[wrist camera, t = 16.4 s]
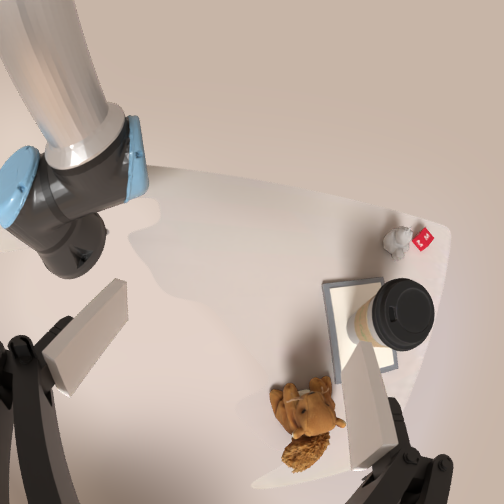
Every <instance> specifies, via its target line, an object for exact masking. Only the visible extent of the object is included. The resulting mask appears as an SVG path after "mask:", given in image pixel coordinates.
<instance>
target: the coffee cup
mask: <svg viewBox="0 0 504 504" xmlns="http://www.w3.org/2000/svg"><path fill="white" fill-rule="evenodd" d="M433 322H434V305H433V301H432V299H431V296H430V295H429V293H428V292H427V290H426V289H425V288H424V287H423V286H422V285H420V284H419V283H417V282H415V281H413V280H410V279H406V278H398V279H394V280H391V281H388V282H387V283H385V284H384V285H383V286H382V287H381V288H380V289H379V290H378V292H377V294H376V295H374V296H373V297H372V298H371V299H370V300H368V301H367V302H366V303H365V304H363V305H362V306H361V307H360V308H359V309H358V310H357V311H356V312H355V313H354V314H352V315H351V316H350V318H349V319H348V322H347V327H346V328H347V335H348V337H349V339H350V340H351V341H352V342H353V343H354V344H358V343H359V341H366V342H372V345H373V347H385V348H391V349H393V350H396V351H408V350H411V349H413V348H415V347H417V346H419V345H420V344H421V343H422V342H423V341H424V340H425V339H426V337H427V336H428V334H429V332H430V330H431V328H432V326H433Z"/></svg>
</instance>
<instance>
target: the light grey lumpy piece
mask: <svg viewBox="0 0 504 504" xmlns="http://www.w3.org/2000/svg"><path fill="white" fill-rule="evenodd" d="M410 229H411V227H410V228H407V227H404V226H400V227H399V228H398V229H395V228H394V229H392V230H391V231H390V232H389V233H388V234H386V236H385V237H384V240H383V244H384V249H386V250H387V251H388V252H389V253H391V254H392V258H393V260H394V261H398V260H399V259H402V258H404V252H406V251H408V250H409V242H410V241H411V240H412V234H413V232H412V231H411V230H410Z"/></svg>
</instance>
